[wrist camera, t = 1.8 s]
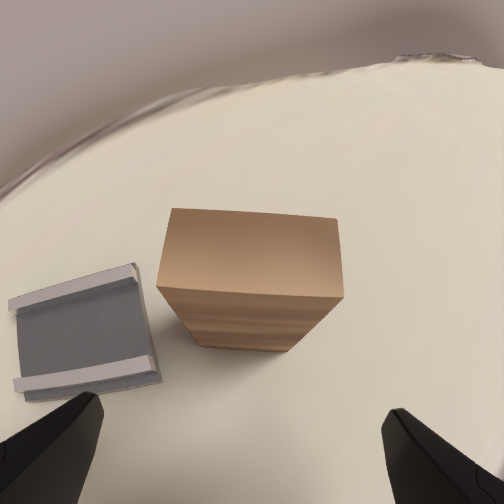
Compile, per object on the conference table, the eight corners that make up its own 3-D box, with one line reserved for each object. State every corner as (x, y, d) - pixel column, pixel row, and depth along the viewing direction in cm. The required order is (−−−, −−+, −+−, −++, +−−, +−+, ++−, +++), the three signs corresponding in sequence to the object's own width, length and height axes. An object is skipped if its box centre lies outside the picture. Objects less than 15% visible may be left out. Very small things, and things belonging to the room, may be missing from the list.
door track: (138, 267, 22) (129, 255, 20) (162, 382, 18) (154, 380, 16) (22, 300, 20) (8, 291, 18) (32, 402, 16) (16, 400, 14)
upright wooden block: (287, 351, 20) (343, 297, 9) (200, 346, 20) (156, 285, 9) (288, 303, 22) (335, 205, 11) (205, 298, 21) (175, 195, 11)
